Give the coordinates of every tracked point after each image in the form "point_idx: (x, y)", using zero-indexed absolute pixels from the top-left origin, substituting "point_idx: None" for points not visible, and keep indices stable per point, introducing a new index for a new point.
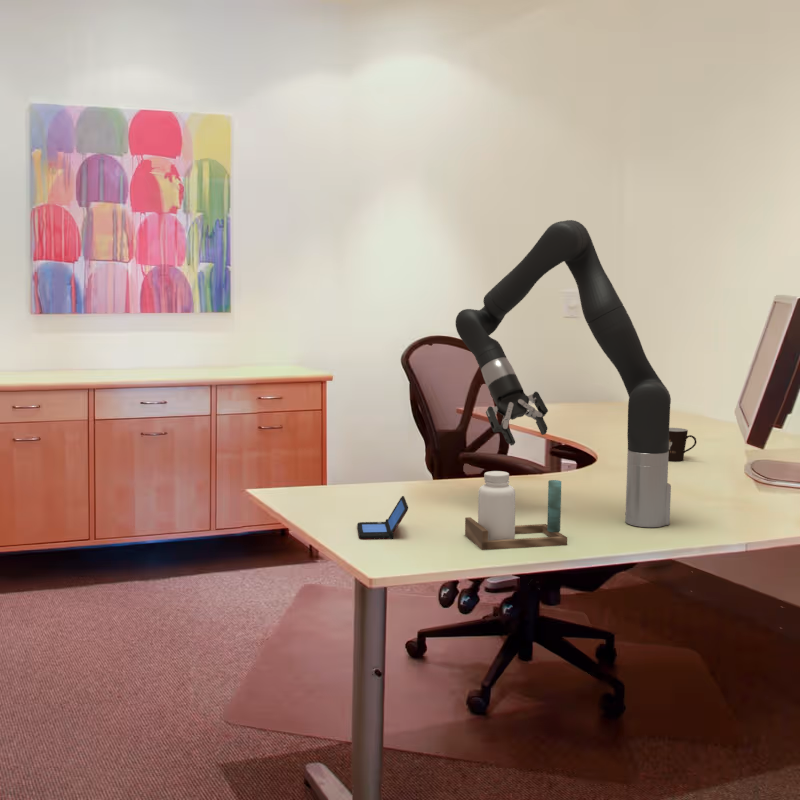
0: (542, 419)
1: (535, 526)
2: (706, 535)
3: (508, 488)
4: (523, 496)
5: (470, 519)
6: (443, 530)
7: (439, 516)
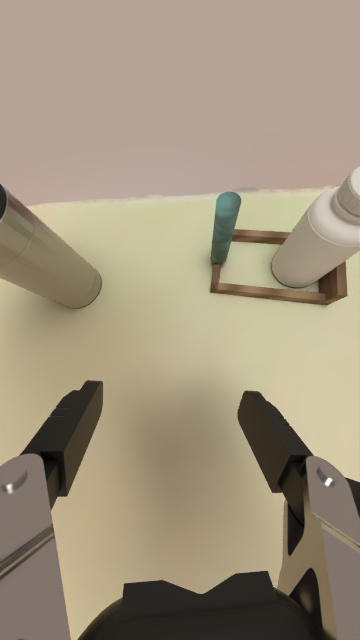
0: (35, 446)
1: (228, 284)
2: (64, 229)
3: (336, 188)
4: (120, 520)
5: (342, 282)
6: (352, 339)
7: (335, 430)
